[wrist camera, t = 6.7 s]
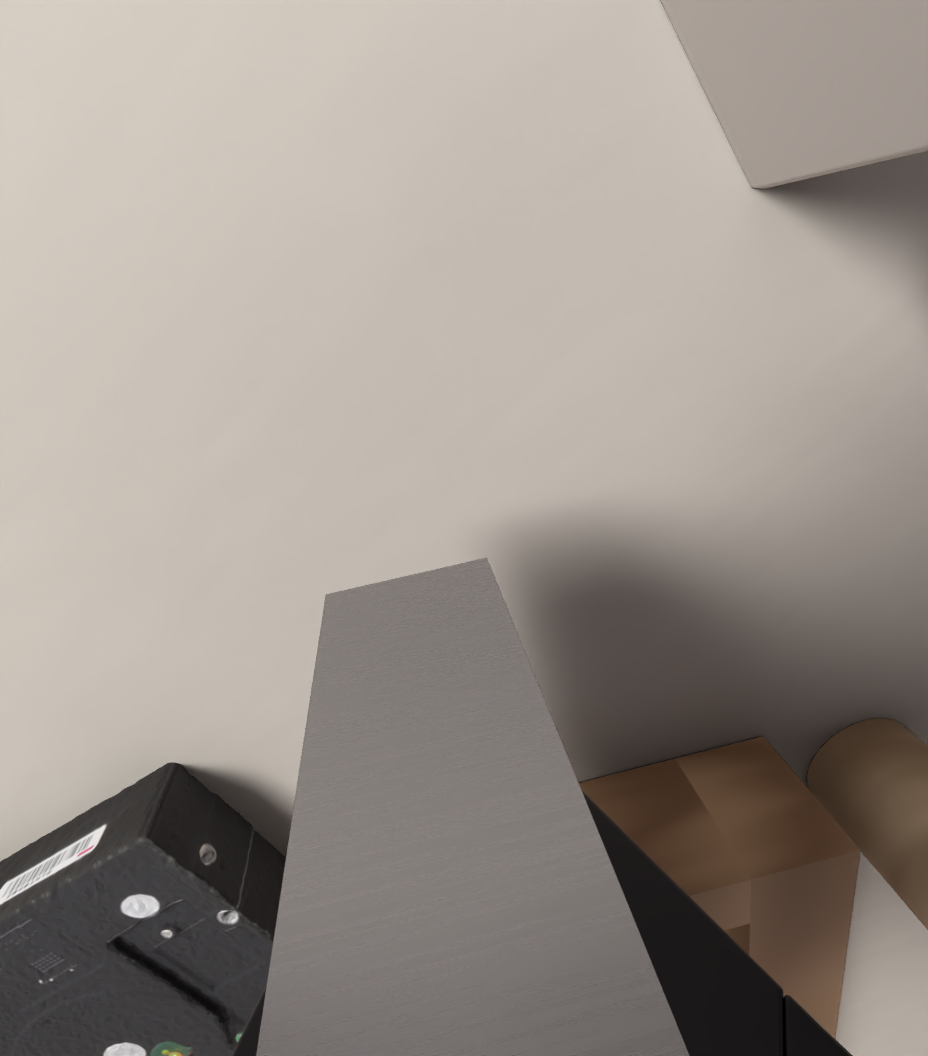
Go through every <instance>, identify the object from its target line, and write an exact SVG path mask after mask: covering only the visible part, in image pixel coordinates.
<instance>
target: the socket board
mask: <svg viewBox="0 0 928 1056" xmlns="http://www.w3.org/2000/svg"><path fill="white" fill-rule="evenodd" d="M579 785H580V788H581V790H582V791H583V792H584V793H585V794H586V795H587V796H588V797H589V798H590V799H591V800H592V801H593V802H594V803H595V804H597V805H598V806H599V807H600V808H601V809H602V810H603V811H604V812H605V813H606V814H607V815H608V816H609V817H610V818H611V819H612V820H613V821H614V822H615V823H616V824H617V825H618V826H619V827H620V828H621V829H622V830H623V831H624V832H625V833H626V834H627V835H628V836H629V837H630V838H631V839H632V840H633V841H634V842H635V843H636V844H637V845H638V846H639V847H640V848H641V849H642V850H643V851H644V852H645V853H646V854H647V855H648V856H649V857H650V858H651V859H652V860H653V861H654V862H655V863H656V864H657V865H658V866H659V867H660V868H661V869H662V870H663V871H664V872H665V873H666V874H667V875H668V876H669V877H670V878H671V879H672V880H673V881H674V882H675V883H676V884H678V885H679V886H680V887H681V888H682V889H683V890H684V891H685V892H686V893H687V894H688V895H689V896H690V897H691V898H692V899H693V900H694V901H695V902H696V903H697V904H698V905H699V906H700V907H701V908H702V909H703V910H704V911H705V912H706V913H707V914H708V915H709V916H710V917H711V918H712V919H713V920H714V921H715V922H716V923H717V924H718V925H719V926H720V927H721V928H722V929H723V930H724V931H725V932H726V933H727V934H728V935H729V936H730V937H731V938H732V939H733V940H734V941H735V942H736V943H737V944H738V945H739V946H740V947H741V948H742V949H743V950H744V951H745V952H746V953H747V954H748V955H749V956H750V957H751V958H752V959H753V960H754V961H755V962H756V963H758V964H759V965H760V966H761V967H762V968H763V969H764V970H765V971H766V972H767V973H768V974H769V975H770V976H771V977H772V978H773V979H774V980H775V981H776V982H777V983H778V984H779V985H780V986H781V987H782V989H783V992H784V996H785V995H790V996H791V997H792V998H793V999H794V1000H795V1001H796V1002H797V1003H798V1004H799V1005H800V1006H801V1007H802V1008H804V1009H805V1010H806V1011H807V1012H808V1013H809V1014H810V1015H811V1016H812V1017H813V1018H814V1019H815V1020H816V1021H817V1022H818V1023H819V1024H820V1025H821V1026H822V1027H823V1028H824V1029H825V1030H826V1031H827V1032H828V1033H829V1034H830V1035H831V1036H832V1037H833V1038H834V1039H835V1036H836V1029H837V1021H838V1014H839V1006H840V999H841V991H842V984H843V977H844V969H845V962H846V954H847V947H848V939H849V932H850V925H851V917H852V910H853V902H854V895H855V887H856V880H857V872H858V865H859V858H860V849H859V848H858V847H857V845H856V844H855V843H854V842H853V841H852V839H851V838H850V837H849V836H848V835H847V834H846V832H845V831H844V830H843V829H842V828H841V827H840V825H839V824H838V823H837V822H836V821H835V820H834V818H833V817H832V816H831V815H830V814H829V813H828V811H827V810H826V809H825V808H824V807H823V806H822V804H821V803H820V802H819V801H818V800H817V798H816V797H815V796H814V795H813V794H812V793H811V791H810V790H809V789H808V788H807V787H806V786H805V784H804V783H803V782H802V781H801V780H800V779H799V777H798V776H797V775H796V774H795V773H794V772H793V770H792V769H791V768H790V767H789V766H788V765H787V763H786V762H785V761H784V760H783V759H782V757H781V756H780V755H779V754H778V753H777V752H776V750H775V749H774V748H773V747H772V746H771V745H770V743H769V742H768V741H767V740H766V739H765V738H764V736H762V737H758V738H754V739H750V740H746V741H742V742H738V743H734V744H730V745H726V746H722V747H719V748H715V749H711V750H707V751H703V752H699V753H695V754H691V755H687V756H683V757H679V758H675V759H671V760H667V761H663V762H659V763H656V764H652V765H648V766H644V767H640V768H636V769H632V770H628V771H624V772H620V773H616V774H612V775H608V776H604V777H600V778H596V779H593V780H589V781H585V782H581V783H579Z"/></svg>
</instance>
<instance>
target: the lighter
mask: <svg viewBox="0 0 928 1056" xmlns="http://www.w3.org/2000/svg"><path fill="white" fill-rule="evenodd" d="M661 2H662V4H663V6H664V8H665V10H666V12H667V15H668V17H669V19H670V21H671V23H672V25H673V27H674V29H675V31H676V33H677V35H678V37H679V39H680V41H681V43H682V45H683V47H684V50H685V52H686V54H687V56H688V58H689V60H690V62H691V64H692V66H693V68H694V70H695V72H696V74H697V76H698V78H699V80H700V83H701V85H702V87H703V89H704V91H705V93H706V95H707V97H708V99H709V101H710V103H711V105H712V107H713V109H714V111H715V113H716V116H717V118H718V120H719V122H720V124H721V126H722V128H723V130H724V132H725V134H726V136H727V138H728V140H729V142H730V144H731V146H732V149H733V151H734V153H735V155H736V157H737V159H738V161H739V163H740V165H741V167H742V169H743V171H744V173H745V175H746V177H747V179H748V182H749V184H750V186H751V187H754V188H760V189H766V188H770V187H774V186H779V185H783V184H787V183H791V182H796V181H800V180H804V179H809V178H813V177H817V176H822V175H826V174H830V173H835V172H839V171H843V170H848V169H852V168H856V167H861V166H865V165H869V164H874V163H878V162H882V161H887V160H891V159H895V158H900V157H904V156H908V155H913V154H917V153H921V152H925V151H928V0H661Z"/></svg>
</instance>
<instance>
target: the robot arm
mask: <svg viewBox="0 0 928 1056" xmlns="http://www.w3.org/2000/svg"><path fill="white" fill-rule="evenodd" d="M582 793H583V795H584V798H585V800H586V803H587V805H588V808H589V810H590V812H591V815H592V817H593V820H594V822H595V825H596V827H597V830H598V832H599V835H600V837H601V840H602V842H603V844H604V847H605V849H606V852H607V854H608V857H609V859H610V862H611V864H612V867H613V869H614V871H615V874H616V876H617V879H618V881H619V884H620V886H621V889H622V891H623V894H624V896H625V898H626V901H627V903H628V906H629V908H630V911H631V913H632V916H633V918H634V921H635V923H636V926H637V928H638V930H639V933H640V935H641V938H642V940H643V943H644V945H645V948H646V950H647V953H648V955H649V957H650V960H651V962H652V965H653V967H654V970H655V972H656V975H657V977H658V980H659V982H660V984H661V987H662V989H663V992H664V994H665V997H666V999H667V1002H668V1004H669V1007H670V1009H671V1012H672V1014H673V1016H674V1019H675V1021H676V1024H677V1026H678V1029H679V1031H680V1034H681V1036H682V1039H683V1041H684V1043H685V1046H686V1048H687V1051H688V1053H689V1056H852V1055H851V1054H850V1053H849V1052H848V1051H847V1050H846V1049H845V1048H844V1047H843V1046H842V1045H841V1044H840V1043H839V1042H838V1041H836V1040H835V1039H834V1038H833V1037H832V1036H831V1035H830V1034H829V1033H828V1032H827V1031H826V1030H825V1029H824V1028H823V1027H822V1026H821V1025H820V1024H819V1023H818V1022H817V1021H816V1020H815V1019H814V1018H813V1017H812V1016H811V1015H810V1014H809V1013H808V1012H807V1011H806V1010H805V1009H804V1008H802V1007H801V1006H800V1005H799V1004H798V1003H797V1002H796V1001H795V1000H794V999H793V998H792V997H791V996H790V995H785V996H784V992H783V989H782V987H781V986H780V985H779V984H778V983H777V982H776V981H775V980H774V979H773V978H772V977H771V976H770V975H769V974H768V973H767V972H766V971H765V970H764V969H763V968H762V967H761V966H760V965H759V964H758V963H756V962H755V961H754V960H753V959H752V958H751V957H750V956H749V955H748V954H747V953H746V952H745V951H744V950H743V949H742V948H741V947H740V946H739V945H738V944H737V943H736V942H735V941H734V940H733V939H732V938H731V937H730V936H729V935H728V934H727V933H726V932H725V931H724V930H723V929H722V928H721V927H720V926H719V925H718V924H717V923H716V922H715V921H714V920H713V919H712V918H711V917H710V916H709V915H708V914H707V913H706V912H705V911H704V910H703V909H702V908H701V907H700V906H699V905H698V904H697V903H696V902H695V901H694V900H693V899H692V898H691V897H690V896H689V895H688V894H687V893H686V892H685V891H684V890H683V889H682V888H681V887H680V886H679V885H678V884H676V883H675V882H674V881H673V880H672V879H671V878H670V877H669V876H668V875H667V874H666V873H665V872H664V871H663V870H662V869H661V868H660V867H659V866H658V865H657V864H656V863H655V862H654V861H653V860H652V859H651V858H650V857H649V856H648V855H647V854H646V853H645V852H644V851H643V850H642V849H641V848H640V847H639V846H638V845H637V844H636V843H635V842H634V841H633V840H632V839H631V838H630V837H629V836H628V835H627V834H626V833H625V832H624V831H623V830H622V829H621V828H620V827H619V826H618V825H617V824H616V823H615V822H614V821H613V820H612V819H611V818H610V817H609V816H608V815H607V814H606V813H605V812H604V811H603V810H602V809H601V808H600V807H599V806H598V805H597V804H595V803H594V802H593V801H592V800H591V799H590V798H589V797H588V796H587V795H586V794H585V793H584V792H583V791H582ZM266 987H267V984H266V986H265V988H264V990H263V992H262V994H261V996H260V998H259V1000H258V1002H257V1004H256V1006H255V1008H254V1010H253V1012H252V1014H251V1016H250V1019H249V1021H248V1023H247V1025H246V1027H245V1029H244V1031H243V1033H242V1035H241V1037H240V1039H239V1041H238V1043H237V1045H236V1047H235V1049H234V1051H233V1053H232V1055H231V1056H256V1054H257V1047H258V1040H259V1034H260V1027H261V1021H262V1014H263V1007H264V1001H265V994H266Z"/></svg>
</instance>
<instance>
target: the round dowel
mask: <svg viewBox="0 0 928 1056" xmlns="http://www.w3.org/2000/svg"><path fill="white" fill-rule="evenodd" d="M807 783H808V787H809V790H810V791H811V793H812V794H813V795H814V796H815V797H816V798H817V800H818V801H819V802H820V803H821V804H822V806H823V807H824V808H825V809H826V810H827V811H828V813H829V814H830V815H831V816H832V817H833V818H834V820H835V821H836V822H837V823H838V824H839V825H840V827H841V828H842V829H843V830H844V831H845V832H846V834H847V835H848V836H849V837H850V838H851V839H852V841H853V842H854V843H855V844H856V845H857V847H858V848H859V849H860V851H861V852H862V853H863V854H864V856H865V857H866V858H867V859H868V860H869V861H870V863H871V864H872V865H873V866H874V867H875V868H876V870H877V871H878V872H879V873H880V874H881V875H882V877H883V878H884V879H885V880H886V881H887V883H888V884H889V885H890V886H891V887H892V888H893V890H894V891H895V892H896V893H897V894H898V895H899V897H900V898H901V899H902V900H903V901H904V902H905V904H906V905H907V906H908V907H909V908H910V910H911V911H912V912H913V913H914V914H915V915H916V917H917V918H918V919H919V920H920V921H921V922H922V924H923V925H924V926H925V927H926V928H927V929H928V745H926V744H925V743H924V742H923V741H922V740H920V739H919V738H918V737H917V736H916V735H915V734H913V733H912V732H911V731H910V730H909V729H907V728H906V727H905V726H904V725H902V724H901V723H899V722H897V721H895V720H892V719H886V718H875V719H869V720H864V721H861V722H858V723H855V724H853V725H850V726H849V727H847V728H845V729H843V730H841V731H840V732H838V733H837V734H835V735H834V736H833V737H831V738H830V739H829V740H828V741H827V742H826V743H825V744H824V745H823V746H822V747H821V748H820V749H819V751H818V752H817V753H816V755H815V756H814V758H813V760H812V762H811V764H810V767H809V770H808V775H807Z"/></svg>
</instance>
